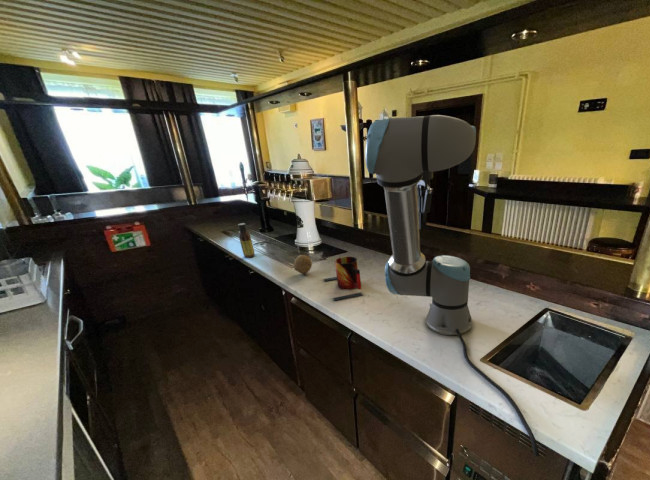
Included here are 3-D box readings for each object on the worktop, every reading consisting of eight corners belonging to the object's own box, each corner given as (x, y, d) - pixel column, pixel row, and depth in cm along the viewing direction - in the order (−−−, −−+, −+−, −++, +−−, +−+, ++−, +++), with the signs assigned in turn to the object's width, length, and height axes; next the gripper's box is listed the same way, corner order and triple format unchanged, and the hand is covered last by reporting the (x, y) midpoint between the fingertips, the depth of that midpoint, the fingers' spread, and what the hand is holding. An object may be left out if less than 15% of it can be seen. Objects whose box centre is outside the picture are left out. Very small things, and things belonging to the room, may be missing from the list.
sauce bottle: (246, 255, 185) (238, 222, 177) (256, 254, 186) (248, 222, 177) (242, 258, 179) (234, 225, 171) (253, 257, 180) (245, 224, 172)
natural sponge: (314, 275, 150) (311, 256, 145) (296, 278, 147) (292, 259, 143) (312, 269, 157) (309, 251, 153) (294, 272, 155) (291, 254, 150)
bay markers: (362, 295, 127) (362, 294, 127) (334, 301, 123) (334, 300, 123) (348, 275, 148) (348, 274, 148) (324, 279, 144) (324, 279, 144)
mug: (360, 292, 130) (358, 266, 125) (333, 287, 135) (330, 262, 130) (370, 283, 138) (369, 258, 133) (345, 279, 143) (342, 255, 138)
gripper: (440, 168, 113) (438, 231, 123) (424, 167, 124) (423, 224, 134) (422, 170, 110) (421, 233, 120) (407, 168, 122) (408, 226, 132)
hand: (422, 228), depth 127 cm, fingers closed
